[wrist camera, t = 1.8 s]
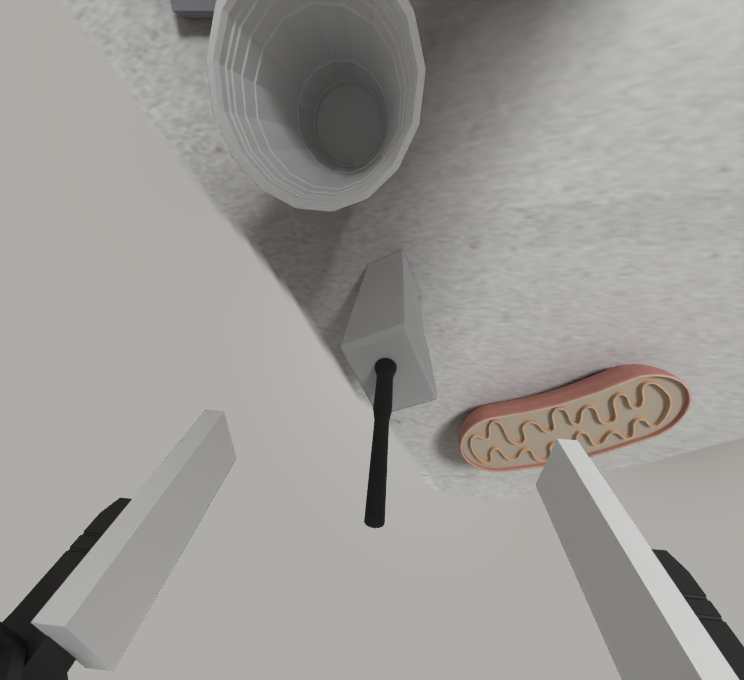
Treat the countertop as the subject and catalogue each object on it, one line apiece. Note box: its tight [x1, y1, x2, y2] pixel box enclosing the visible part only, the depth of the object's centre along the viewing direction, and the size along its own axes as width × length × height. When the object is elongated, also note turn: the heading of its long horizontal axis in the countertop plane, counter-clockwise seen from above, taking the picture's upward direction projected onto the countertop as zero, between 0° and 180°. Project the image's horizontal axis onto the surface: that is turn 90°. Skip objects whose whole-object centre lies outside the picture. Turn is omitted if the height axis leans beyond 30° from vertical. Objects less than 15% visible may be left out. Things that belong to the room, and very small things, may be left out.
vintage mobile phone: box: [340, 250, 437, 528], centre depth 20 cm, size 4×5×25 cm
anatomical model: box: [459, 364, 692, 472], centre depth 35 cm, size 23×10×5 cm, turn 117°
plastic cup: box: [206, 0, 426, 212], centre depth 19 cm, size 11×11×12 cm
